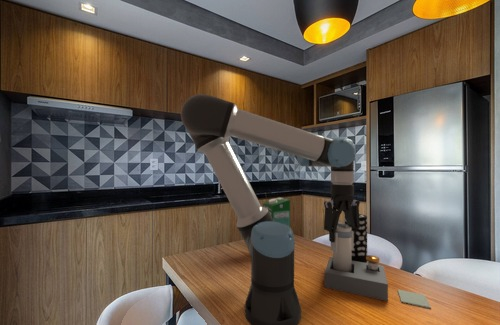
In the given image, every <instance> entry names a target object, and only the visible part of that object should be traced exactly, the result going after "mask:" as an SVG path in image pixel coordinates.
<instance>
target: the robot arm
mask: <svg viewBox="0 0 500 325" xmlns="http://www.w3.org/2000/svg"><path fill="white" fill-rule="evenodd" d="M180 110H181V111H180V119H181V122H182V125H183V126H184V128H185V129H186V131H187V132H188V134H189V136H190V137H191V140H192V142H193V144H194V145H195V146H194V147H196V149H197V152H201V153H203V154H204V155H205V157H206V159H207V160H208V163H209V165H210V166H211V168H212V171H213V172H214V175H215V176H216V178H217V180H218V182H219V184H220V185H221V187H222V191H223V192H224V194H225V196H226V198H227V199H228V201H229V203H230V206H231V207H232V210H233V211H234V214H235V215H236V218H237V221H236V225H235V226H236V227H237V230H238V231H239V234H240V235H241V237H242V240H243V242H244V243H245V245H246V248H247V249H248V253H249V254H250V255H249V256H250V259H251V260H250V261H251V263H250V265H251V266H250V268H251V270H250V273H251V274H250V275H251V276H250V278H251V279H250V282H251V283H250V286H249V290H248V293H247V296H246V299H245V303H244V316H245V318H246V321H247V322H248V323H249V324H250V325H299V324H300V322H301V319H302V308H301V304H300V300H299V297H298V294H297V290H296V288H295V245H296V242H295V234H294V232H293V229H292V228H291V226H290V227H289V226H287V225H285V224H281V223H279V222H274V221H273V219H272V217H271V215H270V213H269V211H268V209H267V208H265V207H263V205H261V203H260V201H259V198H258V196H257V195H256V193H255V191H254V189H253V187H252V185H251V183H250V181H249V179H248V177H247V175H246V173H245V172H244V169H243V167H242V165H241V163H240V161H239V160H238V159H239V158H237V155H236V153H235V151H234V149H233V148H232V145H231V143H230V141H229V140H230V138H231V137H233V138H236V139H241V140H243V141H246V142H250V143H253V144H256V145H259V146H263V147H266V148H270V149H273V150H276V151H280V152H282V153H283V152H284V153H286V154H289V155H293V156H296V160H297V163H298V165H299V166H300V167H307V168H309V167H311V168H312V167H323V168H325V167H327V168H328V167H330V183H331V184H330V194H331V198H330V200H329V201H325V200H324V202H323V205H324V217H323V218H324V219H323V230H325V231H326V232H328V240H329V242H330V251H332V252H333V251H334V252H336V253H337V252H338V233H336V229H337V225H338V222H339V220H340V216H341V214H342V212H343V213H344V219H345V218H346V222H347V225H349V226H350V227H351V228H352V250H354V239H355V231H357V228H358V229H359V228H360V221H359V214H360V200H356V199H354V198H353V196H354V195H355V186H354V182H355V176H354V175H355V174H354V173H355V170H354V169H355V164H354V163H355V162H354V161H355V156H356V150H355V146H354V141H353V140H352V139H350V138H337V139H331V138H330V137H326V136H323V135H319V134H317V133H313V132H310V131H307V130H304V129H301V128H297V127H296V126H291V125H289V124H285V123H283V122H279V121H276V120H274V119H271V118H269V117H264V116H261V115H259V114H256V113H252V112H251V111H250V112H249V111H247V110H242V108H241V109H240V108H238V105H236V103H234V102H231V101H229V100H225V99H222V98H220V97H216V96H215V95H214V96H213V95H210V94H206V93H199V94H195V95H192V96H190V97H188V99H186V100H185V102H184V103H183V105H182V107H181V109H180Z"/></svg>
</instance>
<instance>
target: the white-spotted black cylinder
mask: <svg viewBox="0 0 500 325" xmlns="http://www.w3.org/2000/svg"><path fill="white" fill-rule="evenodd" d="M359 221H360V228H359V229H358V228H357V231H355V239H354V250H352V261H358V262H364V263H368V261H367V260H366V256H367V255H368V216H367V215H366V214H361V213H359ZM344 224H346V225H347V222H346V218H345V217H344Z"/></svg>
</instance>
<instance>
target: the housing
mask: <svg viewBox="0 0 500 325" xmlns="http://www.w3.org/2000/svg"><path fill="white" fill-rule="evenodd" d="M324 288H326V289H332V290H336V291H340V292H345V293H349V294H354V295H358V296H363V297H367V298H372V299H377V300H381V301H386V302H388V301H389V284H388V279H387V276H386V270H385V266H384V265H382V264H378V272H377V271H371V270H368V262H367V263H364V262H358V261H352V272H351V273H350V272H344V271H339V270H333V256H329V258H328V261H327V264H326V266H325V270H324Z"/></svg>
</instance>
